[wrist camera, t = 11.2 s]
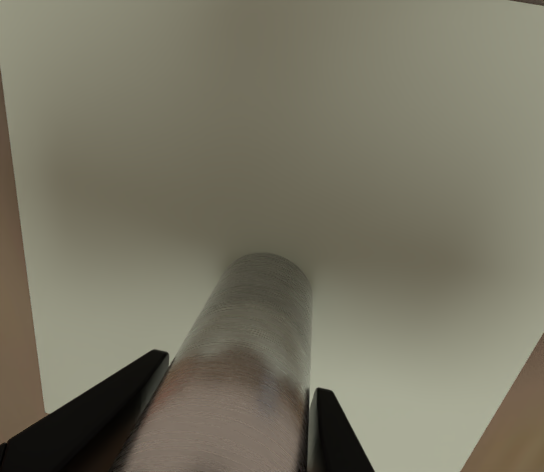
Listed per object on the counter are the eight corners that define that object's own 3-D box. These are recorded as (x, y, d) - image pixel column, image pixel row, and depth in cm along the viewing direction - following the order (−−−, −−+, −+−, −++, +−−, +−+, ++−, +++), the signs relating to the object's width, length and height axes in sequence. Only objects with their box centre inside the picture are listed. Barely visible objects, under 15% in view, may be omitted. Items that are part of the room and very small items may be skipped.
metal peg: (342, 253, 11) (428, 796, 2) (313, 358, 13) (299, 895, 4) (210, 225, 11) (-151, 619, 3) (199, 332, 13) (-42, 784, 4)
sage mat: (433, 499, 16) (436, 510, 16) (52, 404, 17) (45, 412, 17) (700, 38, 9) (722, 34, 8) (-4, -76, 10) (-20, -85, 9)
